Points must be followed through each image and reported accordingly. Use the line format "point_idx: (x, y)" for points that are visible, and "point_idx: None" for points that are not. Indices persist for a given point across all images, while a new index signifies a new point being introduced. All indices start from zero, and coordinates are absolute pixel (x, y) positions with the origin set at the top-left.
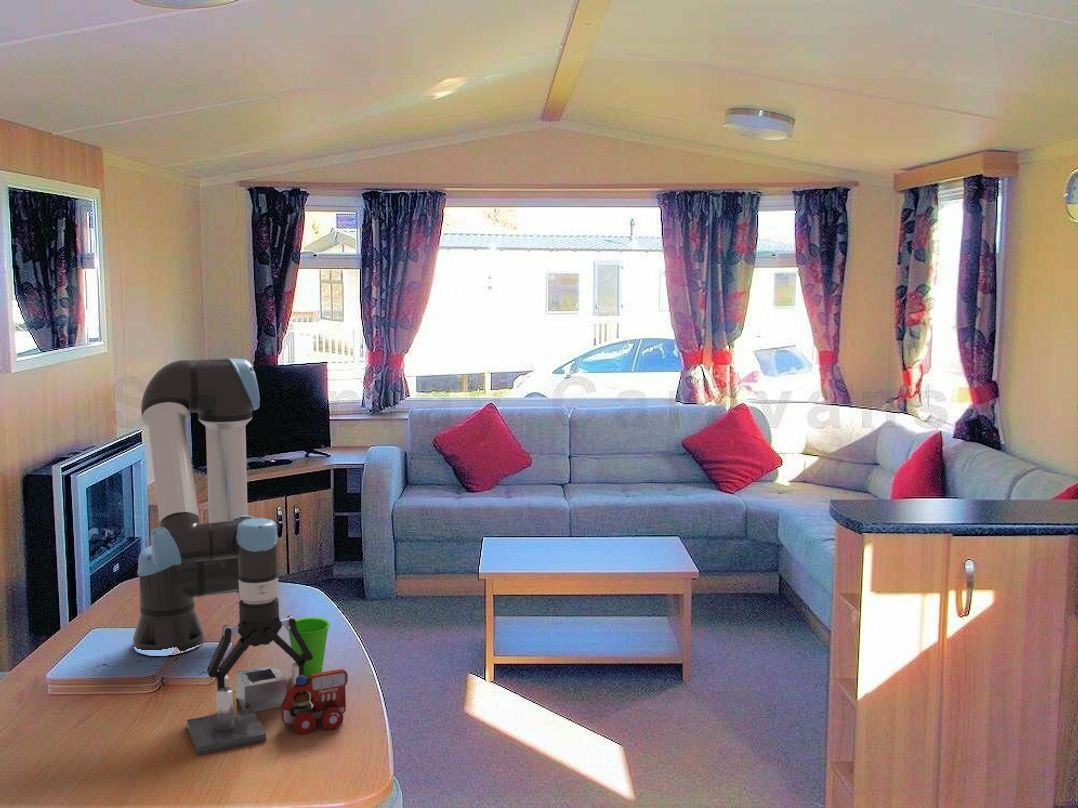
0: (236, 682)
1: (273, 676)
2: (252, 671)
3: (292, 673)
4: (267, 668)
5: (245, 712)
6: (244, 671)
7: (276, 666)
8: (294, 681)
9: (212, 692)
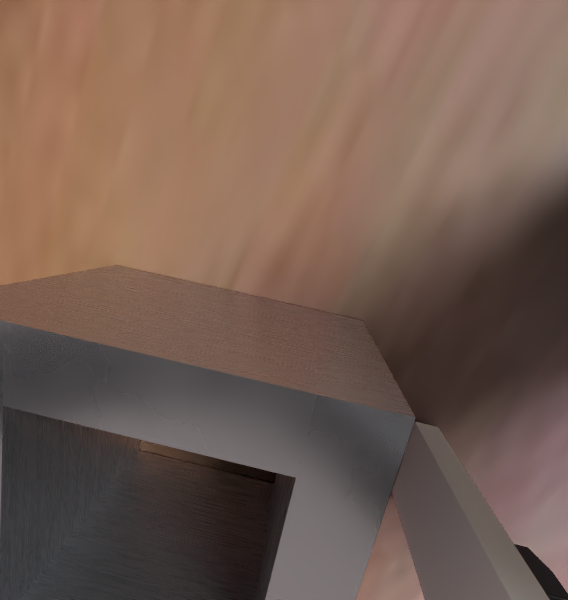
0: (32, 281)
1: (271, 553)
2: (85, 417)
3: (471, 567)
4: (268, 448)
5: None
6: (2, 361)
7: (386, 467)
8: (430, 568)
9: (6, 79)
